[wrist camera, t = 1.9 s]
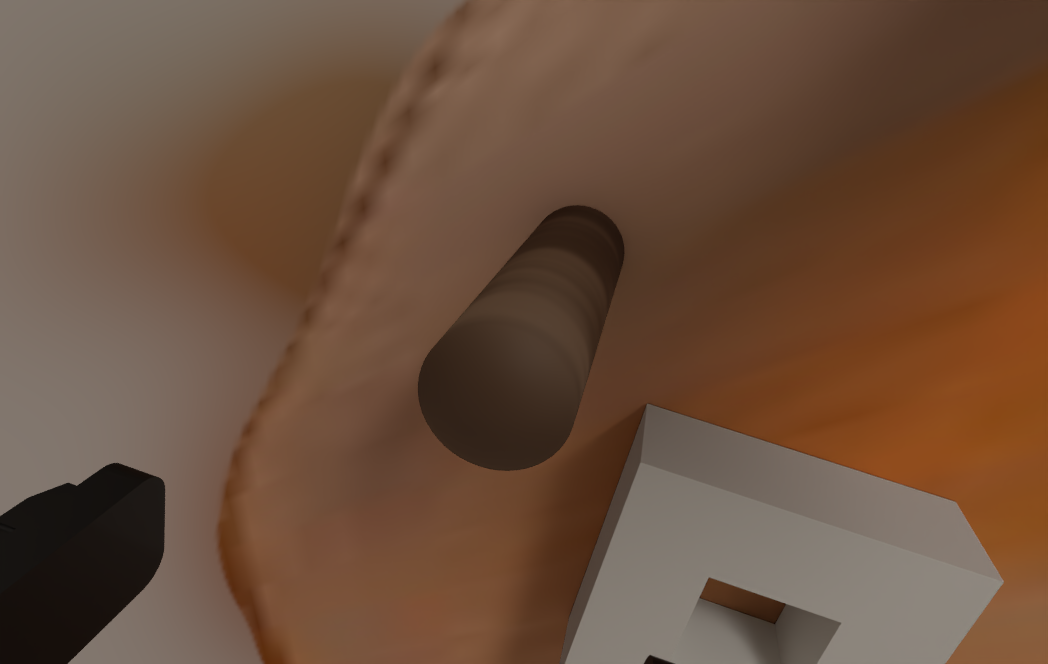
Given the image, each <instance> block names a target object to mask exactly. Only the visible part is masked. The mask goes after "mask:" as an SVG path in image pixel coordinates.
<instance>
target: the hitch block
mask: <svg viewBox="0 0 1048 664" xmlns="http://www.w3.org/2000/svg"><path fill="white" fill-rule="evenodd" d="M709 577H710V578H713V579H716V580H718V581H721V582H724V583H727V584H730V585H733V586H736V587H739V588H742V589H745V590H747V591H750V592H753V593H756V594H759V595H762V596H765V597H768V598H771V599H774V600H777V601H779V602H782V603H785V604H786V605H785V607H784V609H783V611H782V612H781V614H780V616H779V618H778V620H777V621H776V623H775V624H773V623H770V622H767V621H764V620H761V619H758V618H755V617H753V616H750V615H747V614H744V613H741V612H738V611H735V610H732V609H730V608H727V607H724V606H721V605H718V604H715V603H712V602H709V601H707V600H704V599H701V598H699V597H700V595H701V593H702V591H703V589H704V587H705V584H706V582H707V580H708V578H709ZM1003 583H1004V581H1003V580H1002V578H1001V576H1000V575H999V573H998V571H997V570H996V568H995V566H994V565H993V563H992V561H991V560H990V558H989V556H988V555H987V553H986V551H985V550H984V548H983V546H982V545H981V543H980V541H979V540H978V538H977V536H976V535H975V533H974V532H973V530H972V528H971V527H970V525H969V523H968V522H967V520H966V518H965V517H964V515H963V513H962V512H961V510H960V508H959V507H958V505H957V503H956V502H954V501H951V500H948V499H945V498H942V497H939V496H935V495H932V494H929V493H926V492H923V491H920V490H917V489H914V488H910V487H907V486H904V485H901V484H898V483H895V482H892V481H888V480H885V479H882V478H879V477H876V476H873V475H870V474H867V473H863V472H860V471H857V470H854V469H851V468H848V467H845V466H841V465H838V464H835V463H832V462H829V461H826V460H823V459H820V458H816V457H813V456H810V455H807V454H804V453H801V452H798V451H794V450H791V449H788V448H785V447H782V446H779V445H776V444H773V443H769V442H766V441H763V440H760V439H757V438H754V437H751V436H748V435H744V434H741V433H738V432H735V431H732V430H729V429H726V428H722V427H719V426H716V425H713V424H710V423H707V422H704V421H701V420H697V419H694V418H691V417H688V416H685V415H682V414H679V413H675V412H672V411H669V410H666V409H663V408H660V407H657V406H654V405H650V404H647V405H646V408H645V411H644V414H643V416H642V419H641V422H640V425H639V427H638V430H637V433H636V436H635V438H634V441H633V444H632V447H631V449H630V452H629V455H628V457H627V460H626V463H625V466H624V468H623V471H622V474H621V477H620V479H619V482H618V485H617V488H616V490H615V493H614V496H613V499H612V501H611V504H610V507H609V510H608V512H607V515H606V518H605V520H604V523H603V526H602V529H601V531H600V534H599V537H598V540H597V542H596V545H595V548H594V551H593V553H592V556H591V559H590V562H589V564H588V567H587V570H586V573H585V575H584V578H583V581H582V583H581V586H580V589H579V592H578V594H577V597H576V600H575V603H574V605H573V608H572V611H571V614H570V616H569V620H568V625H567V630H566V635H565V639H564V644H563V649H562V654H561V658H560V663H559V664H644V662H645V660H646V659H647V657H648V656H649V655H652V656H655V657H658V658H661V659H663V660H666V661H669V662H672V663H675V664H945V663H946V662H947V660H948V659H949V657H950V656H951V655H952V653H953V652H954V651H955V649H956V648H957V646H958V645H959V644H960V642H961V641H962V639H963V638H964V637H965V635H966V634H967V632H968V631H969V630H970V628H971V627H972V626H973V624H974V623H975V621H976V620H977V619H978V617H979V616H980V614H981V613H982V612H983V610H984V609H985V608H986V606H987V605H988V603H989V602H990V601H991V599H992V598H993V596H994V595H995V594H996V592H997V591H998V589H999V588H1000V587H1001V585H1002V584H1003Z"/></svg>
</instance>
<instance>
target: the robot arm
mask: <svg viewBox="0 0 1048 664" xmlns="http://www.w3.org/2000/svg"><path fill="white" fill-rule="evenodd" d="M164 527H165V485H164V482H163V480H162V479H161V478H159V477H156V476H153V475H150V474H147V473H144V472H142V471H139V470H136V469H133V468H131V467H128V466H125V465H122V464H119V463H113V464H109V465H107V466H105V467H103V468H102V469H100V470H99V471H98V472H96V473H95V474H93V475H92V476H90V477H89V478H87V479H86V480H85V481H83V482H82V483H81V484H79V485H78V486H76V485H73V484H70V483H66V484H63V485H61V486H58V487H55V488H53V489H50V490H47V491H45V492H42V493H40V494H37V495H34V496H31V497H29V498H27V499H26V500H24V501H22V502H21V503H19V504H18V505H16V506H15V507H13V508H12V509H10V510H9V511H7V512H6V513H4V514H3V515H1V516H0V664H68V662H70V661H71V659H73V658H74V657H75V656H76V655H77V654H78V653H79V652H80V651H81V650H82V649H83V648H84V647H85V646H86V645H87V644H88V643H89V642H90V641H91V640H92V639H93V638H94V637H95V636H96V635H97V634H98V633H99V632H100V631H101V630H102V629H103V628H104V627H105V626H106V625H107V624H108V623H109V622H110V621H112V619H113V618H115V617H116V616H117V615H118V613H119V612H121V611H122V610H123V609H124V608H125V607H126V605H128V604H129V603H130V602H131V601H132V600H133V599H134V598H135V597H136V596H137V595H138V594H139V593H140V592H141V591H142V590H143V589H144V588H145V587H146V585H147V584H148V583H149V582H150V580H151V579H152V578H153V576H154V575H155V572H156V571H157V569H158V567H159V565H160V563H161V560H162V557H163V552H164ZM644 664H675V663H672V662H669V661H666V660H663V659H661V658H658V657H655V656H652V655H649V656H648V657H647V659H646V660H645V662H644Z"/></svg>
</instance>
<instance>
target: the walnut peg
mask: <svg viewBox="0 0 1048 664" xmlns="http://www.w3.org/2000/svg"><path fill="white" fill-rule="evenodd" d="M623 260H624V244H623V240H622V236H621V234H620V232H619V230H618V228H617V227H616V225H615V224H614V223H613V221H612V220H611V219H610V218H609V217H607V216H606V215H605V214H603V213H602V212H600V211H598V210H596V209H593V208H591V207H586V206H579V205H577V206H568V207H564V208H561V209H558V210H556V211H554V212H553V213H551V214H550V215H549V216H547V217H546V218H545V219H544V220H543V221H542V223H541V224H540V225H539V226H538V227H537V228H536V230H535V231H534V232H533V233H532V234H531V235H530V236H529V238H528V239H527V240H526V241H525V242H524V243H523V245H522V246H521V247H520V248H519V249H518V250H517V252H516V253H515V254H514V255H513V256H512V257H511V258H510V260H509V261H508V262H507V263H506V264H505V265H504V267H503V268H502V269H501V270H500V271H499V272H498V273H497V275H496V276H495V277H494V278H493V279H492V280H491V282H490V283H489V284H488V285H487V286H486V287H485V288H484V290H483V291H482V292H481V293H480V294H479V295H478V297H477V298H476V299H475V300H474V301H473V302H472V303H471V305H470V306H469V307H468V308H467V309H466V310H465V312H464V313H463V314H462V315H461V316H460V317H459V318H458V320H457V321H456V322H455V323H454V324H453V325H452V327H451V328H450V329H449V330H448V331H447V332H446V333H445V335H444V336H443V337H442V338H441V339H440V340H439V342H438V343H437V344H436V345H435V346H434V347H433V348H432V350H431V351H430V352H429V354H428V355H427V357H426V358H425V361H424V363H423V365H422V367H421V371H420V375H419V381H418V396H419V402H420V406H421V410H422V413H423V415H424V418H425V420H426V422H427V424H428V425H429V427H430V429H431V430H432V432H433V433H434V434H435V436H436V437H437V438H438V439H439V440H440V441H441V442H442V444H443V445H444V446H446V447H447V448H448V449H449V450H450V451H452V452H453V453H454V454H456V455H457V456H459V457H460V458H462V459H464V460H466V461H468V462H470V463H473V464H475V465H478V466H481V467H484V468H488V469H494V470H504V471H510V470H520V469H525V468H529V467H532V466H535V465H538V464H540V463H542V462H544V461H545V460H547V459H548V458H550V457H551V456H553V455H554V454H555V453H556V452H557V451H558V450H559V449H560V448H561V447H562V446H563V444H564V443H565V442H566V440H567V438H568V436H569V435H570V432H571V430H572V427H573V424H574V421H575V418H576V414H577V411H578V408H579V405H580V401H581V398H582V395H583V392H584V388H585V385H586V382H587V379H588V375H589V372H590V369H591V365H592V362H593V359H594V356H595V352H596V349H597V346H598V343H599V339H600V336H601V333H602V330H603V326H604V323H605V320H606V316H607V313H608V310H609V307H610V303H611V300H612V297H613V294H614V290H615V287H616V284H617V281H618V277H619V274H620V271H621V267H622V264H623Z"/></svg>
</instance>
